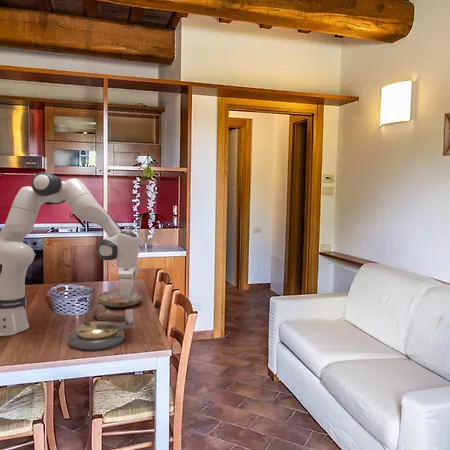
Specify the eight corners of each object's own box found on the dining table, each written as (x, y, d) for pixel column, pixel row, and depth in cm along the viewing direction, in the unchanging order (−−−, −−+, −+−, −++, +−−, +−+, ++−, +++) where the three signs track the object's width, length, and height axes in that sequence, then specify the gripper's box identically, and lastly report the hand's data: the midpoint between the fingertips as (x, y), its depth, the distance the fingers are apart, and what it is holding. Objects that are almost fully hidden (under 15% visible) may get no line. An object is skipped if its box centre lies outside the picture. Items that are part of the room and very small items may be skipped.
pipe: (124, 312, 203) (128, 303, 213) (88, 312, 202) (93, 302, 212) (124, 325, 205) (128, 315, 215) (89, 324, 204) (94, 314, 214)
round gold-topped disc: (72, 340, 170) (72, 316, 169) (81, 327, 186) (81, 304, 185) (131, 340, 173) (131, 315, 172) (135, 327, 189) (136, 304, 188)
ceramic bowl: (97, 312, 218) (97, 302, 218) (97, 299, 241) (97, 290, 240) (144, 309, 225) (144, 300, 224) (139, 297, 247) (139, 289, 247)
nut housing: (71, 354, 165) (71, 346, 164) (66, 335, 185) (66, 328, 184) (129, 346, 174) (129, 338, 174) (118, 329, 194) (118, 322, 194)
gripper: (122, 265, 194) (121, 295, 195) (116, 274, 174) (116, 308, 175) (137, 265, 195) (136, 295, 196) (133, 274, 175) (132, 308, 176)
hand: (126, 301), depth 186 cm, fingers closed
